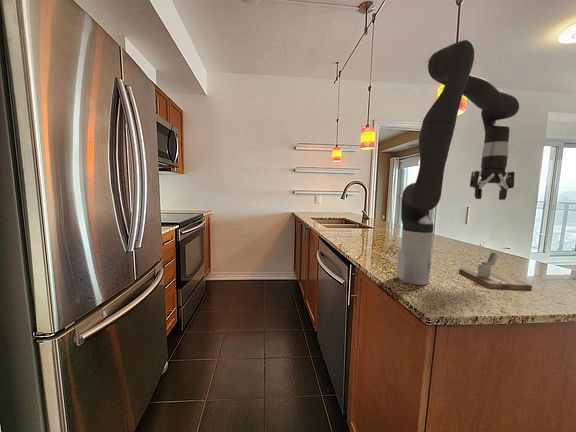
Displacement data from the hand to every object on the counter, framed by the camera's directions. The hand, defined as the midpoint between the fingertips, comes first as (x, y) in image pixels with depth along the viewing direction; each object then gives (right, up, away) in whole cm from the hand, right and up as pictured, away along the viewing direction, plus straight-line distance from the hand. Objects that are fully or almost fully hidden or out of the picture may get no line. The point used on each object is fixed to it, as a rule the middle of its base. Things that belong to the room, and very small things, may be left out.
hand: (490, 199), depth 97 cm
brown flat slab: (-5, -29, -7) cm, 30 cm away
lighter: (-7, -27, -7) cm, 29 cm away
